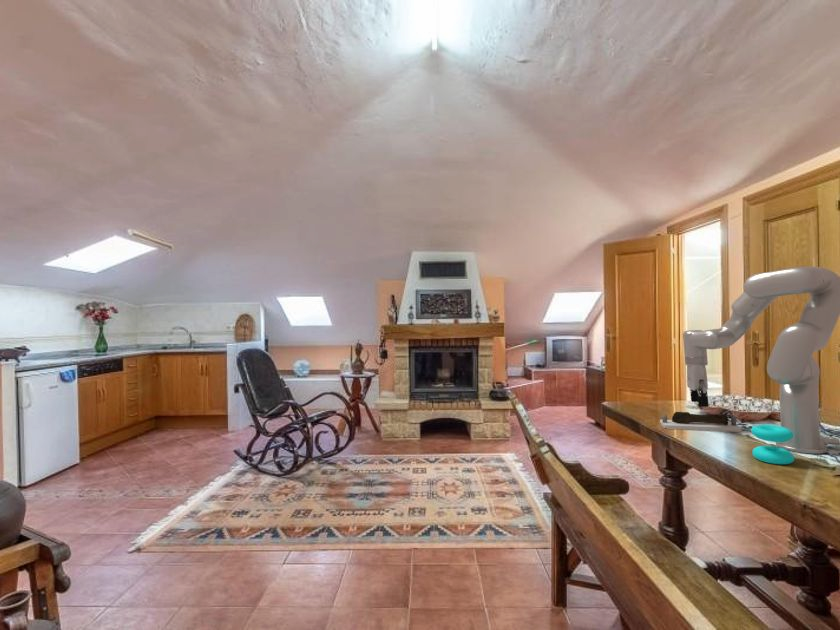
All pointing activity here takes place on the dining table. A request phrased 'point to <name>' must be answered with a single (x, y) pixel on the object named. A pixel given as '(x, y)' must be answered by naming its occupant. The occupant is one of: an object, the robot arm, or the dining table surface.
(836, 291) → the robot arm
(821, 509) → the dining table surface
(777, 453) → the donuts
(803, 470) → the dining table surface
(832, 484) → the dining table surface
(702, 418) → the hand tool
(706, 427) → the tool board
